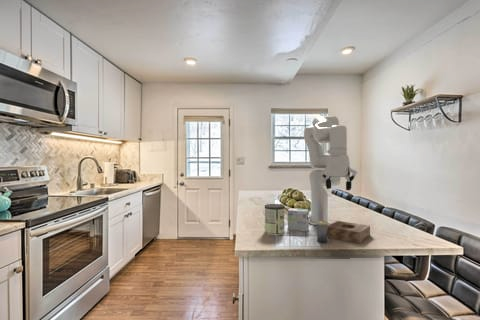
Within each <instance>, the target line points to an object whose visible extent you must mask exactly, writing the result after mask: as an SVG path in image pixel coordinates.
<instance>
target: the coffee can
mask: <svg viewBox="0 0 480 320" xmlns="http://www.w3.org/2000/svg"><path fill="white" fill-rule="evenodd" d="M264 233H265V234H266V235H270V236H282V235H285V233H286V232H285V205H284V204H280V203H279V204H278V203H269V204H265V205H264Z"/></svg>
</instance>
